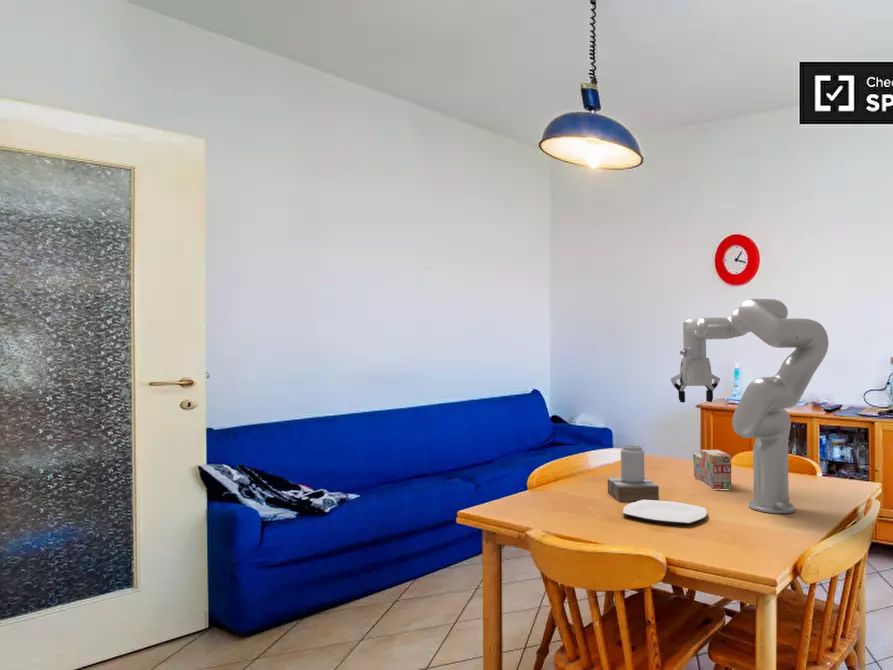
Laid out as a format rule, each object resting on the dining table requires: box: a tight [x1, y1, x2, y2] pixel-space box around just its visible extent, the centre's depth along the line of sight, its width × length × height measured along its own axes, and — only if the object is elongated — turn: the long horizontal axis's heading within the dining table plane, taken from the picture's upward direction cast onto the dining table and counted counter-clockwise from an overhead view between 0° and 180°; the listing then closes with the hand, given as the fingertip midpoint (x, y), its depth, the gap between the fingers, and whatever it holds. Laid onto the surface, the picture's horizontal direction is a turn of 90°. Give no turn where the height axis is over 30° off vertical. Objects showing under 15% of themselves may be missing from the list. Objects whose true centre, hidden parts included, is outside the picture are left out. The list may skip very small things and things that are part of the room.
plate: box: [622, 500, 708, 526], centre depth 186 cm, size 23×23×2 cm
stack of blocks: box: [692, 449, 732, 490], centre depth 228 cm, size 21×6×12 cm, turn 176°
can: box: [620, 444, 646, 484], centre depth 210 cm, size 8×8×12 cm
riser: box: [607, 476, 660, 503], centre depth 210 cm, size 13×13×5 cm
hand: (695, 401), depth 223 cm, fingers open, 9 cm apart
